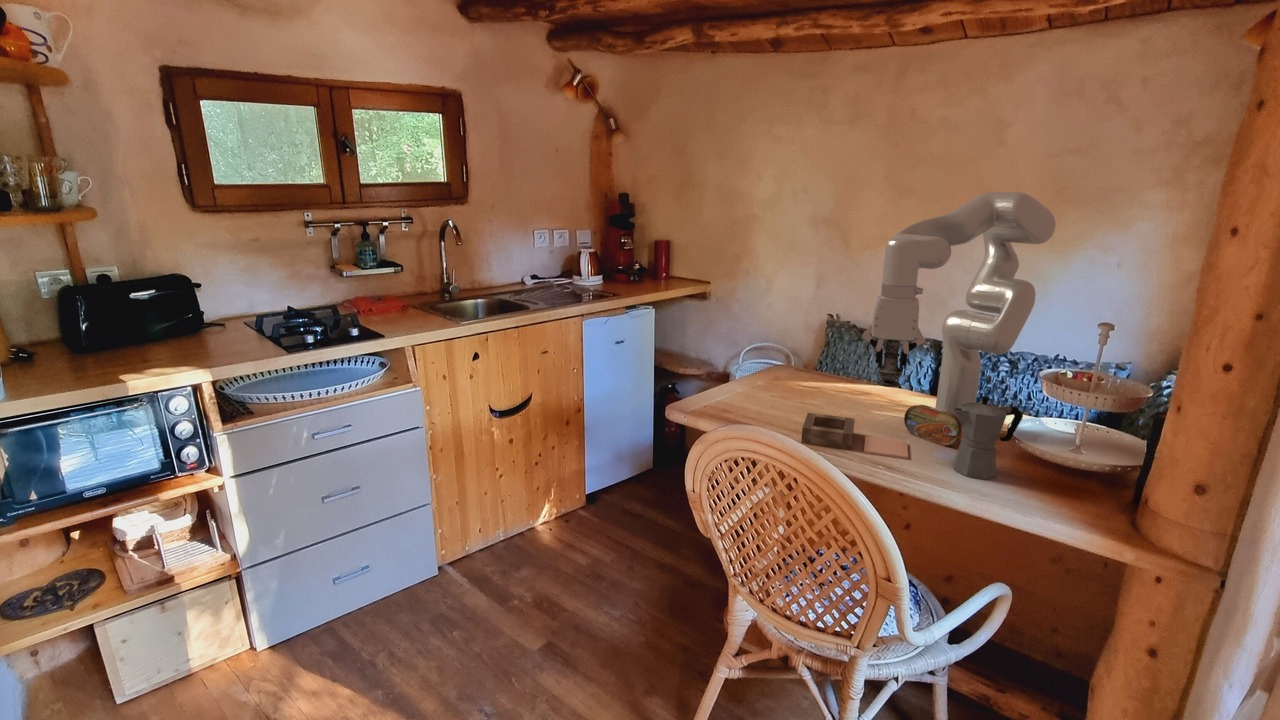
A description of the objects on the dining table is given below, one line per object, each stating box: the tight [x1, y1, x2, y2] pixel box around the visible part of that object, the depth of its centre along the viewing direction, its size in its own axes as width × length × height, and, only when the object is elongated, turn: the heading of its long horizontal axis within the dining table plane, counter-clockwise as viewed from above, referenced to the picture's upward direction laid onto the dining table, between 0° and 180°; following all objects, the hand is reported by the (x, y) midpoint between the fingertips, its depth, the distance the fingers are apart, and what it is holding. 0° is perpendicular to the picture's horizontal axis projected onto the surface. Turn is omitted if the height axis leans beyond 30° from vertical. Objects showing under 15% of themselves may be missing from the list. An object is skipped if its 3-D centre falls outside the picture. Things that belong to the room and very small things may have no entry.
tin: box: [903, 404, 963, 446], centre depth 165 cm, size 15×3×8 cm, turn 33°
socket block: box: [800, 412, 856, 451], centre depth 165 cm, size 12×12×4 cm
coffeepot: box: [952, 395, 1024, 480], centre depth 145 cm, size 15×9×18 cm, turn 90°
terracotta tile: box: [863, 436, 909, 460], centre depth 159 cm, size 10×10×1 cm
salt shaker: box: [876, 340, 904, 388], centre depth 154 cm, size 6×6×12 cm
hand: (890, 366), depth 155 cm, fingers closed on salt shaker, 4 cm apart
